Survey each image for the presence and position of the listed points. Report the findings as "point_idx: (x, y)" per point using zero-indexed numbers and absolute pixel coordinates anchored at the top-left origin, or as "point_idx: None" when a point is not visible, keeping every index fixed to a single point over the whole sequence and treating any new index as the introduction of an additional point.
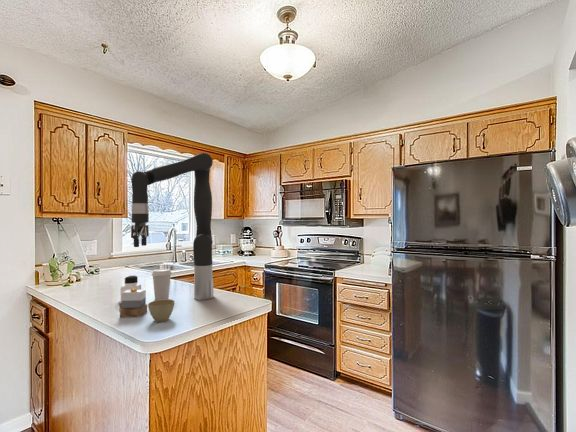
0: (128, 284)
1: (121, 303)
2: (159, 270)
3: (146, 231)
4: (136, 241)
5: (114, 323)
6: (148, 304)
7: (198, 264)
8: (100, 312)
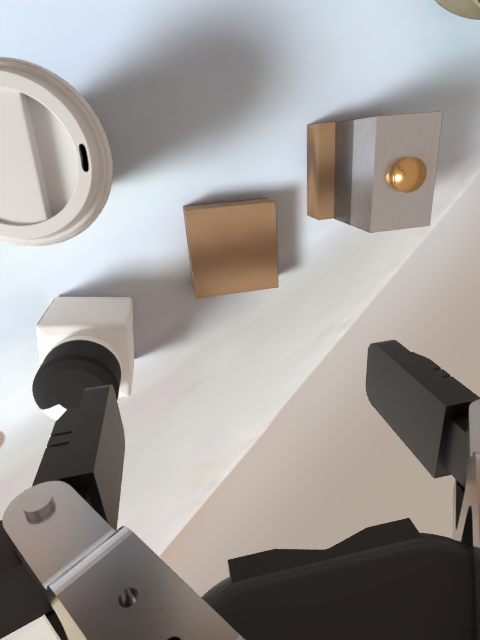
0: (120, 364)
1: (277, 277)
2: (10, 187)
3: (106, 623)
4: (465, 393)
5: (455, 181)
6: None
7: None
8: (311, 326)
